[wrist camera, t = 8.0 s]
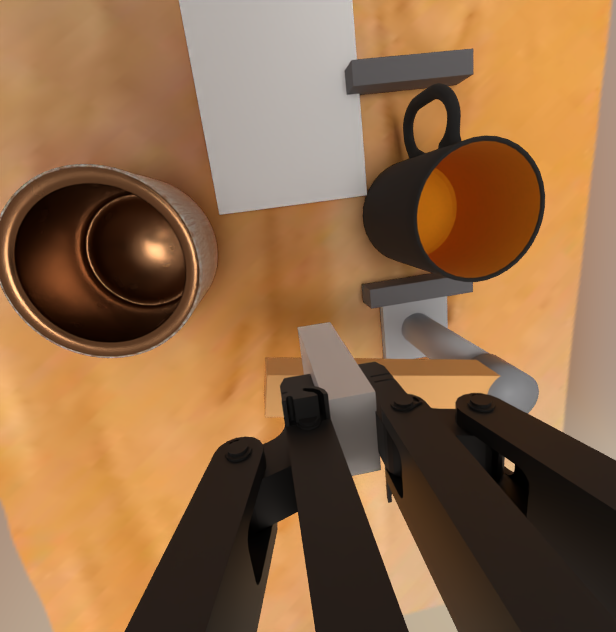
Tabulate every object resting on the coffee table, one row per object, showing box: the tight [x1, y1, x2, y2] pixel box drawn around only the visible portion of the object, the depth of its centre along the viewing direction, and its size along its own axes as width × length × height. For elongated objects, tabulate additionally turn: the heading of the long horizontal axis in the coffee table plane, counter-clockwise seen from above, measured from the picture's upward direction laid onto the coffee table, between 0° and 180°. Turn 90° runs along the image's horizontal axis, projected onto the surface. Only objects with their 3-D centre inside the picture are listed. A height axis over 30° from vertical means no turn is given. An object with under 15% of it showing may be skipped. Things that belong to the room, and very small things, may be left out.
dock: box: [345, 49, 489, 360], centre depth 27 cm, size 24×9×11 cm, turn 7°
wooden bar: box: [264, 354, 539, 417], centre depth 21 cm, size 16×3×3 cm, turn 86°
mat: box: [179, 0, 367, 215], centre depth 27 cm, size 16×12×1 cm
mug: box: [363, 83, 545, 282], centre depth 26 cm, size 8×12×10 cm
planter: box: [0, 164, 218, 358], centre depth 25 cm, size 11×11×10 cm
